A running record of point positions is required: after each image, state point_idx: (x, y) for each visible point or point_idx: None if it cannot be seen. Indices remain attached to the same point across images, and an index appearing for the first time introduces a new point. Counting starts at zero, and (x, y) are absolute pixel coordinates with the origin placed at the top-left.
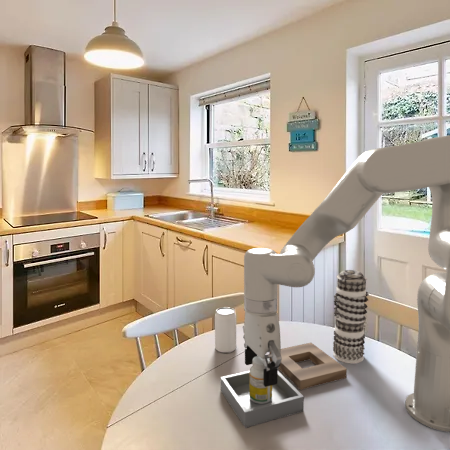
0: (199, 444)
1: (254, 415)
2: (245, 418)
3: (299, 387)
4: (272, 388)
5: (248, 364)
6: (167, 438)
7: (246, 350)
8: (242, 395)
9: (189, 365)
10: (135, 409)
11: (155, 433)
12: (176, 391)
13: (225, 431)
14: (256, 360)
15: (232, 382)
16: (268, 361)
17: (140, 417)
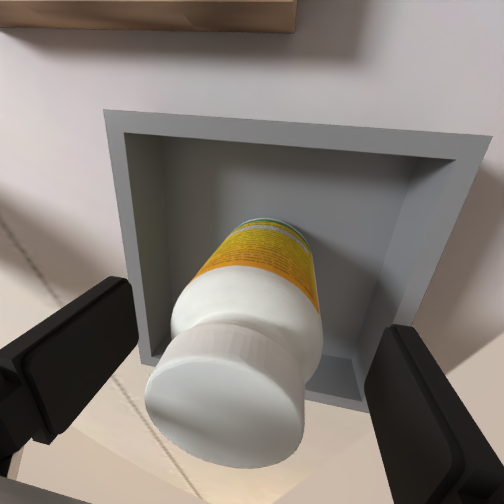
0: (338, 450)
1: None
2: None
3: (285, 28)
4: (233, 180)
5: (137, 333)
6: (284, 473)
7: (52, 433)
8: None
9: (25, 330)
10: (174, 468)
11: (259, 477)
12: (137, 401)
13: None
14: (213, 446)
15: (162, 315)
16: (276, 394)
17: (201, 472)
